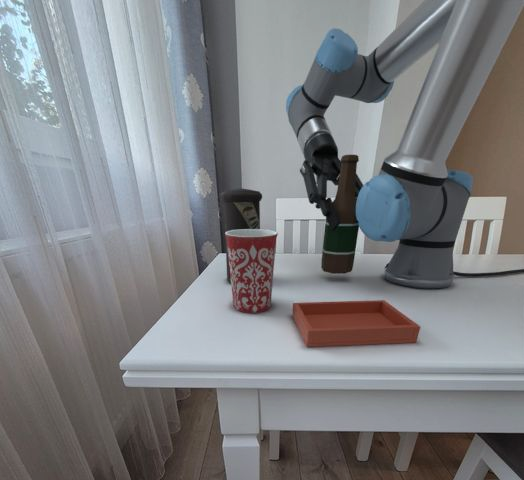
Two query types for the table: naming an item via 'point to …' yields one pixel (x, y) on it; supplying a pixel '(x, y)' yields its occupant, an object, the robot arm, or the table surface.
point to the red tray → (353, 323)
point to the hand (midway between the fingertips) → (351, 225)
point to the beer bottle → (342, 223)
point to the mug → (251, 268)
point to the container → (240, 213)
